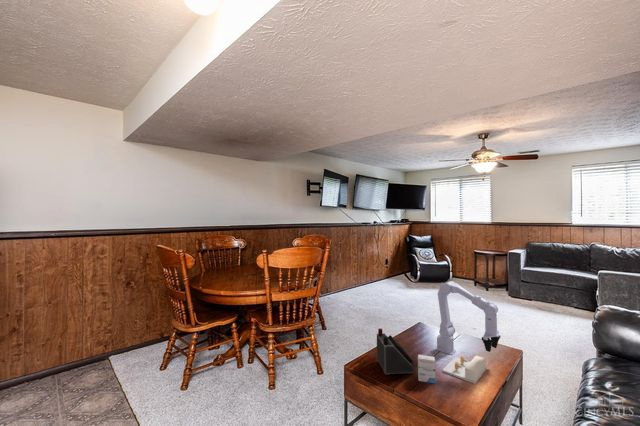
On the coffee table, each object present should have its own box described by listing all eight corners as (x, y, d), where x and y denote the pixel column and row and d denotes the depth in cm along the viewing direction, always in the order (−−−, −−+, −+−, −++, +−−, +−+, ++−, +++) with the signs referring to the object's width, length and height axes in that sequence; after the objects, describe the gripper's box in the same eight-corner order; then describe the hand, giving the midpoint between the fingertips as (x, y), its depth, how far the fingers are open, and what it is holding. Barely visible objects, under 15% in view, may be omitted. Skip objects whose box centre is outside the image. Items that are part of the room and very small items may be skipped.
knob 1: (454, 370, 153) (454, 363, 153) (457, 367, 156) (457, 360, 156) (460, 372, 151) (460, 365, 151) (462, 369, 154) (462, 362, 154)
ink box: (435, 378, 148) (434, 356, 148) (435, 384, 143) (435, 360, 143) (418, 375, 151) (417, 353, 151) (418, 380, 146) (417, 358, 146)
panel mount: (442, 371, 154) (442, 360, 155) (455, 358, 169) (455, 348, 169) (475, 384, 143) (475, 372, 143) (486, 368, 157) (486, 358, 157)
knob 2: (460, 363, 160) (460, 357, 160) (462, 361, 162) (462, 354, 162) (465, 365, 158) (465, 358, 158) (468, 363, 160) (468, 356, 160)
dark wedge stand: (414, 375, 151) (414, 338, 152) (385, 376, 150) (384, 339, 151) (403, 360, 167) (403, 326, 168) (376, 361, 166) (376, 327, 167)
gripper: (492, 330, 152) (493, 355, 152) (504, 324, 161) (504, 348, 161) (479, 326, 158) (479, 350, 158) (491, 321, 167) (491, 343, 166)
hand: (491, 349), depth 160 cm, fingers open, 7 cm apart
